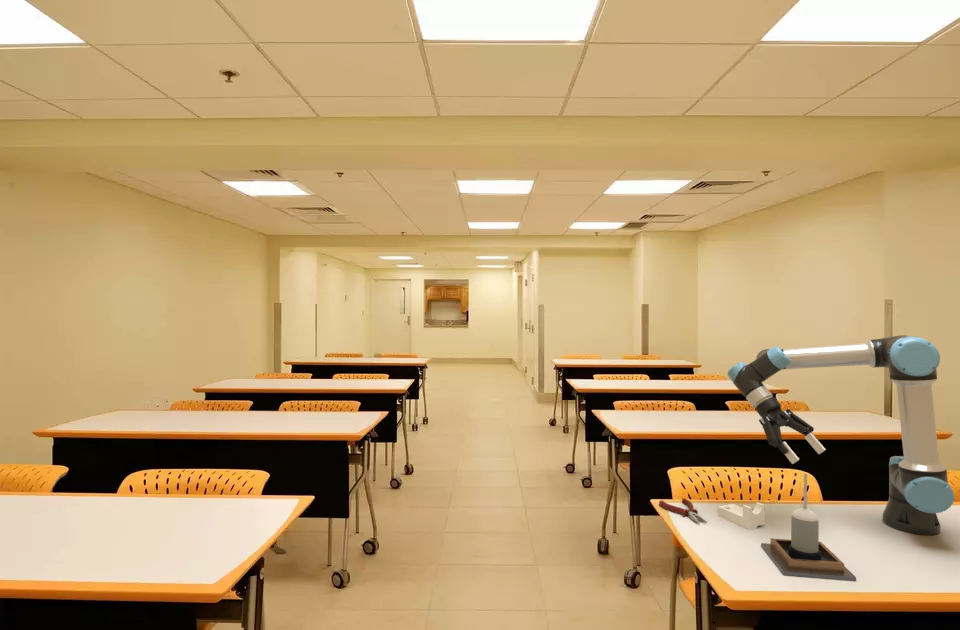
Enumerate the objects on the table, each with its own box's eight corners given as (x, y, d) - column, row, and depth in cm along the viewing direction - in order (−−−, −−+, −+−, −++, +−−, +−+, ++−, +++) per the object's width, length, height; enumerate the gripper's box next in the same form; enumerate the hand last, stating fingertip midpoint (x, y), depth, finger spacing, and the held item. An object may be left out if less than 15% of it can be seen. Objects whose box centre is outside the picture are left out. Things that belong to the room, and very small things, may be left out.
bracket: (764, 527, 178) (764, 504, 178) (749, 530, 176) (749, 508, 175) (732, 513, 190) (732, 492, 190) (718, 516, 188) (718, 495, 187)
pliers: (688, 527, 178) (688, 520, 178) (657, 506, 198) (657, 499, 198) (718, 525, 180) (718, 517, 180) (685, 504, 200) (685, 497, 200)
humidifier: (807, 567, 148) (807, 478, 147) (781, 554, 155) (782, 470, 155) (828, 563, 150) (828, 475, 150) (802, 550, 158) (802, 467, 158)
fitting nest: (825, 550, 160) (825, 539, 160) (856, 581, 142) (856, 568, 142) (761, 546, 163) (761, 535, 163) (783, 575, 146) (783, 562, 146)
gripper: (780, 402, 190) (824, 453, 177) (732, 415, 179) (776, 471, 167) (794, 389, 185) (840, 442, 172) (746, 403, 174) (792, 460, 161)
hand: (809, 456), depth 169 cm, fingers open, 13 cm apart
